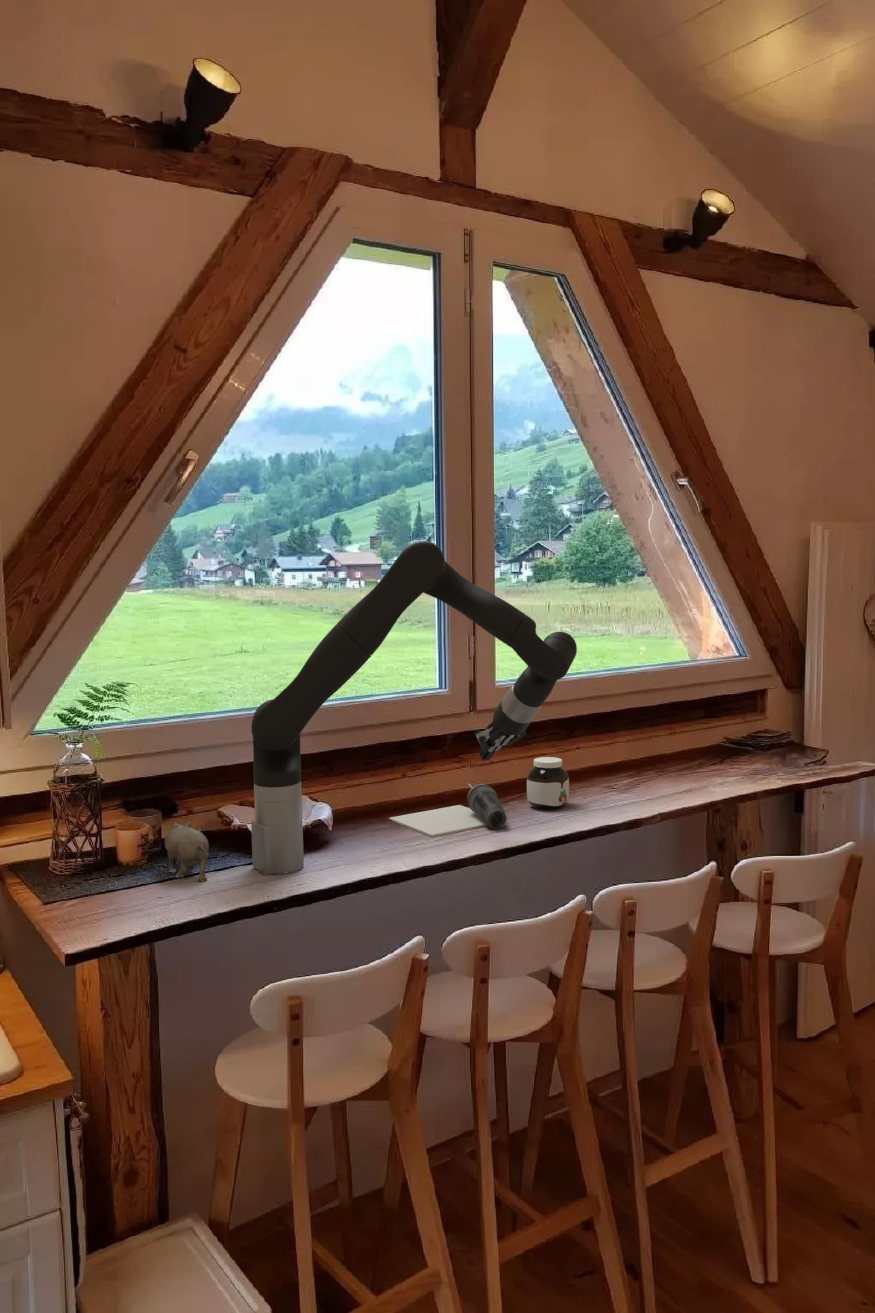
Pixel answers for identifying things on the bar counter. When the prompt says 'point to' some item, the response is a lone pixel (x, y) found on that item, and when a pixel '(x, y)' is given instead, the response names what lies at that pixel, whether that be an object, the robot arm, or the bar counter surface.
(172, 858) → the elephant figurine
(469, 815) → the white flat panel
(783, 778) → the bar counter surface
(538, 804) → the spread jar
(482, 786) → the beverage cup
